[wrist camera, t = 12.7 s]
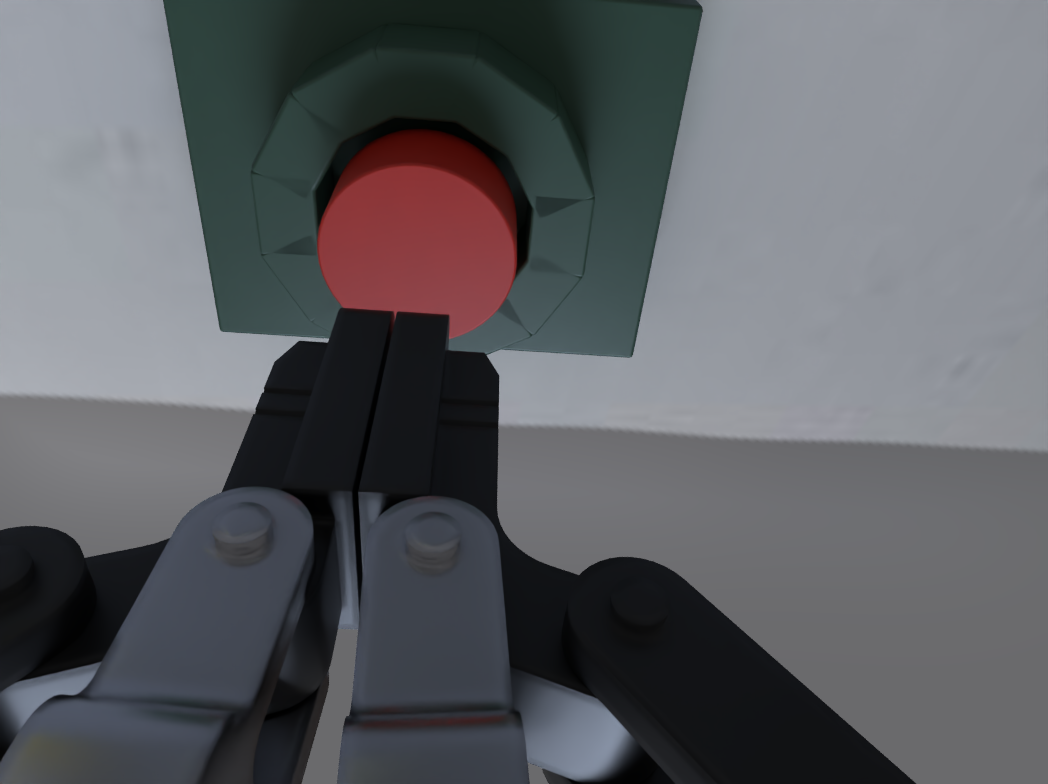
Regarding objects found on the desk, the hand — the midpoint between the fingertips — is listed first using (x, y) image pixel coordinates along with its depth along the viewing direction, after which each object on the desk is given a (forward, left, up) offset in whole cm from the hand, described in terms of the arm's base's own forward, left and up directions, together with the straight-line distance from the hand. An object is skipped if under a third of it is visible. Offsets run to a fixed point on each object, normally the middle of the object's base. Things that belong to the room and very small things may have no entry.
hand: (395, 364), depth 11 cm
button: (0, 0, -5) cm, 5 cm away
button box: (0, 0, -9) cm, 9 cm away
